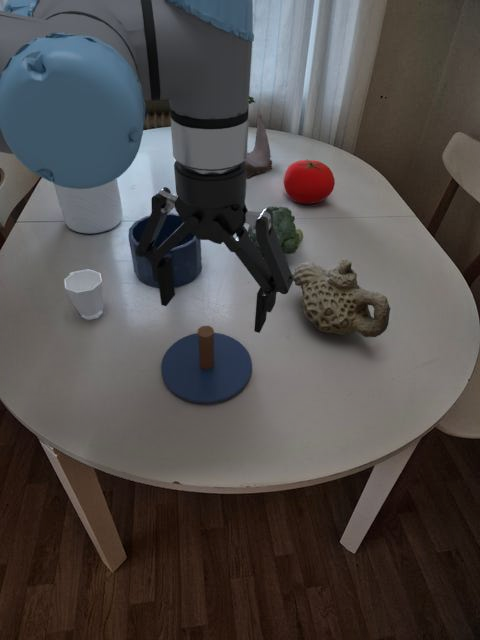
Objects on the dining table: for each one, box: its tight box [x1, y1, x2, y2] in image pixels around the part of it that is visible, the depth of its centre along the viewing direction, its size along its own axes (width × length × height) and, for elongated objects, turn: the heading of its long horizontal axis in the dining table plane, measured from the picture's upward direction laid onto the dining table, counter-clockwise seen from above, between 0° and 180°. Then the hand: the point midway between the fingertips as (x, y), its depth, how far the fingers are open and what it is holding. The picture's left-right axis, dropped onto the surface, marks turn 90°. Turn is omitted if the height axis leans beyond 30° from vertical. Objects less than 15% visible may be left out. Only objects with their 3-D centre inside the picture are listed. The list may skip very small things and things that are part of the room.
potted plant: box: [244, 95, 273, 180], centre depth 131 cm, size 20×19×25 cm
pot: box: [128, 211, 203, 289], centre depth 92 cm, size 15×20×10 cm
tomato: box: [283, 159, 336, 205], centre depth 118 cm, size 14×13×10 cm
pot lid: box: [160, 325, 253, 404], centre depth 72 cm, size 16×16×9 cm
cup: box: [63, 268, 104, 321], centre depth 82 cm, size 7×10×8 cm
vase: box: [53, 178, 124, 235], centre depth 98 cm, size 14×14×32 cm
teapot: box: [292, 258, 391, 338], centre depth 78 cm, size 21×12×15 cm, turn 40°
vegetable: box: [247, 205, 304, 257], centre depth 98 cm, size 12×13×15 cm
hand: (213, 312), depth 59 cm, fingers open, 13 cm apart
